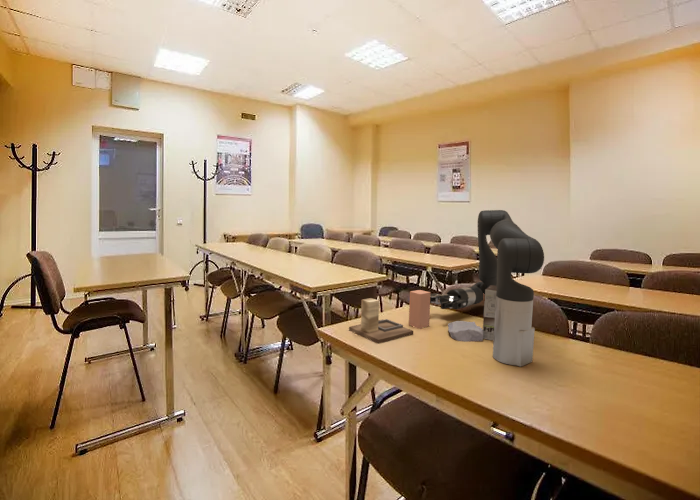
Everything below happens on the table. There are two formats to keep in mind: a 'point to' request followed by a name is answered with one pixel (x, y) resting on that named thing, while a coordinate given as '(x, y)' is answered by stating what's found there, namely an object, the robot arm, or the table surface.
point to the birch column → (369, 315)
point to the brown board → (382, 333)
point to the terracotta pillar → (419, 308)
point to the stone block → (465, 331)
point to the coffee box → (489, 312)
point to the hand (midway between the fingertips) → (432, 303)
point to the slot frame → (390, 327)
